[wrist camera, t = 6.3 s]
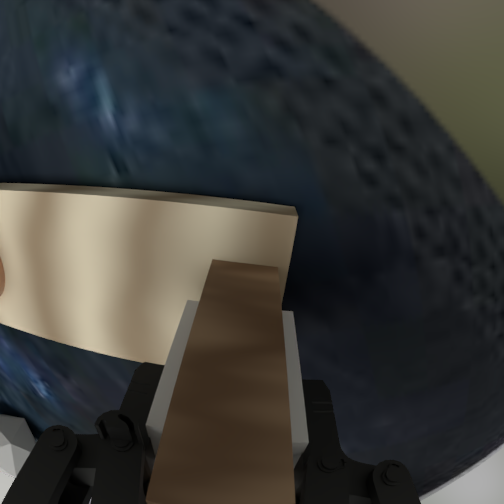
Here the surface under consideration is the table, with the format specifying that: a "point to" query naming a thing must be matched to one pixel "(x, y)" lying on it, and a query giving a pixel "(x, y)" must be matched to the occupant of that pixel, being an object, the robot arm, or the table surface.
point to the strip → (168, 318)
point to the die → (14, 444)
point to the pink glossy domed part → (2, 278)
